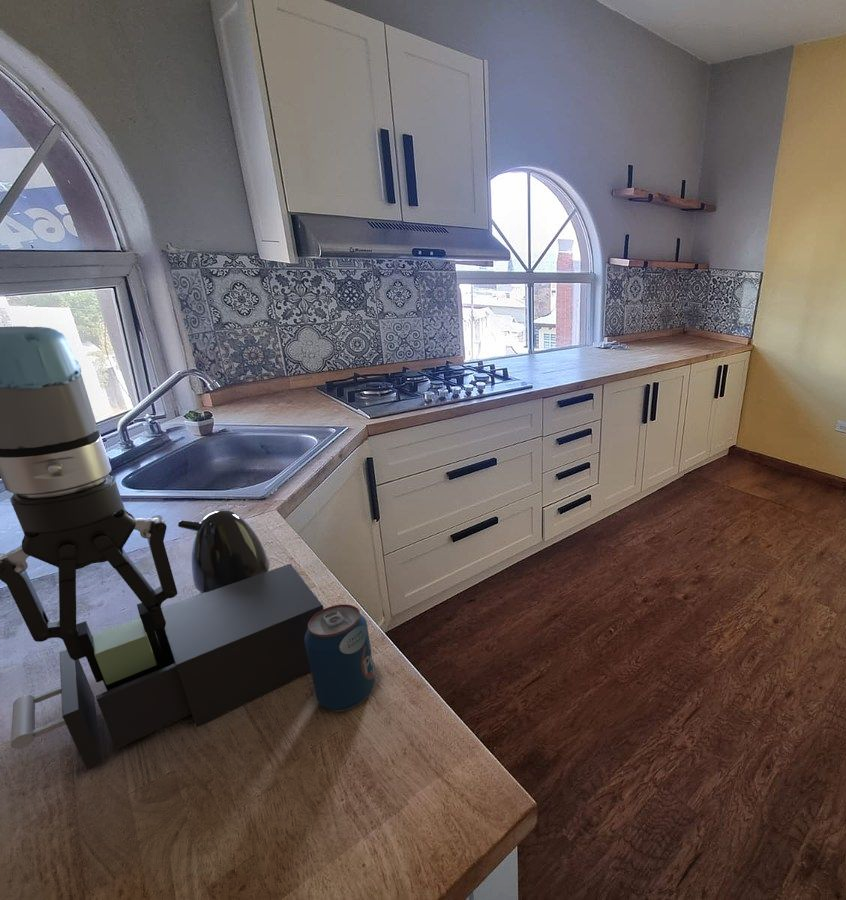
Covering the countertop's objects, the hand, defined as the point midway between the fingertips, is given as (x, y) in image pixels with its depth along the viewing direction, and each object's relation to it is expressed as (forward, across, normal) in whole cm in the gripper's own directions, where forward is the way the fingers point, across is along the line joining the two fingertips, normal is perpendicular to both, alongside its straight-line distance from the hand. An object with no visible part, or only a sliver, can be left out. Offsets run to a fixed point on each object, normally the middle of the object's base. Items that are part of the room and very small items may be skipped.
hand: (129, 662), depth 59 cm
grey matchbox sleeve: (+8, +12, 0) cm, 14 cm away
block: (0, 0, 0) cm, 0 cm away
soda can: (+8, +19, -14) cm, 25 cm away
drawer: (+7, 0, 0) cm, 7 cm away
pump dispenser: (+8, +14, +20) cm, 25 cm away
